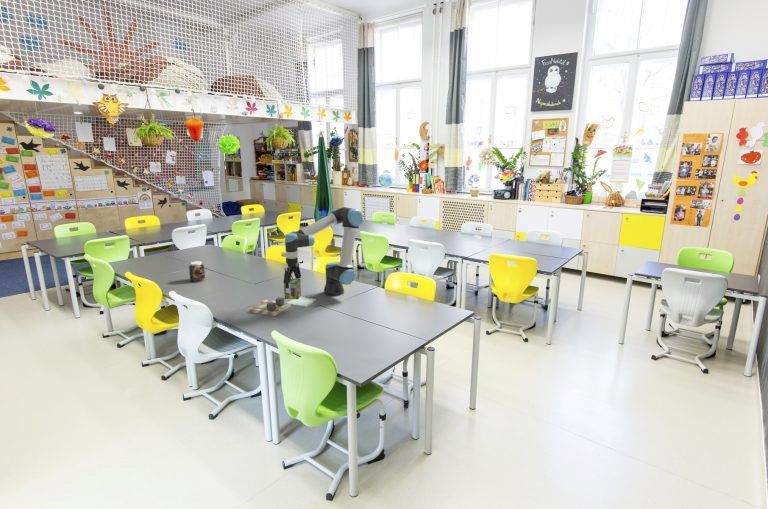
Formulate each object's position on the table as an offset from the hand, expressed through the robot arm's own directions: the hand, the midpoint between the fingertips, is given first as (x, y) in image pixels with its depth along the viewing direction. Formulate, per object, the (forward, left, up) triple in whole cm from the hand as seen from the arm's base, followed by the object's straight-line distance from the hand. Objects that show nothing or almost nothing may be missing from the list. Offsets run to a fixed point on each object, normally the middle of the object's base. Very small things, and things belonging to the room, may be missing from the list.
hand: (292, 290), depth 267 cm
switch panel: (+15, +4, -14) cm, 21 cm away
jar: (+107, -30, -14) cm, 112 cm away
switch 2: (+10, 0, -11) cm, 15 cm away
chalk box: (0, 0, -5) cm, 5 cm away
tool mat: (+2, -14, -14) cm, 20 cm away
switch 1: (+10, +10, -11) cm, 18 cm away
